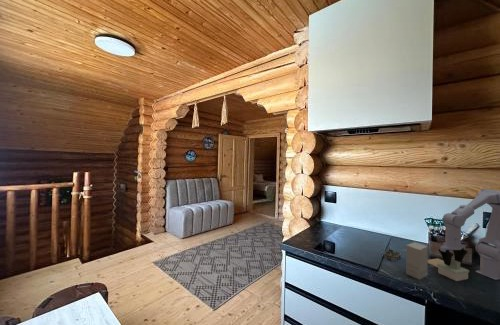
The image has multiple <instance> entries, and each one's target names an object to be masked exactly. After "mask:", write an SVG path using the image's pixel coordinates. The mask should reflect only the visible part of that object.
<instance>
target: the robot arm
mask: <svg viewBox="0 0 500 325" xmlns="http://www.w3.org/2000/svg"><path fill="white" fill-rule="evenodd" d="M484 205H489V206H490V207H491V209H492V210H491V212H490V213H491V214H490V217H489V220H488V226H487V228H486V234H485V237H482V238H479V239H478V241H477V243H475V244H476V245H475V251H476V252H477V253H478V256H479V258H480V265H479V269H478V270H475V272H476V273H477V274H479V275H483V276H485V277H488V278H491V279H493V280H495V281H497V280H500V190H497V189H496V190H495V189H488V188H482V189H481V190H479V191H478V192H477V196H476V197H474V198H473V199H472V200H471V201H470V202H469V203H467V204H461V205H459V206H458V207H457V208H456V209H454V210H453V211H451V212H447V213H445V214H444V215H443V216H442V218H441V221H442V222H443V226H444V228H445V234H444V235H445V237H444V239H445V240H444V241H445V242H443V243H442V245H441V246H439V248H438V252H439V254H440V255H441V257H442V260H443V261H444V264H446V265H448V266H450V264H451V259H453V256H454V260H456V261H458V262H460V265H461V264H462V263H463V259H464V257H465V256H466V255H467V254H468V250H466V244H461V242H462V227H464V226H465V223H466V221H467V220H468V219H469V218H470V217H471V216H473V215H474V214H475V210H477V209H479V208H481V207H483V206H484ZM451 251H453V252H451Z"/></svg>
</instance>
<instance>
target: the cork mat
mask: <svg viewBox="0 0 500 325" xmlns="http://www.w3.org/2000/svg"><path fill="white" fill-rule="evenodd" d="M439 263H444V261H443V259H441V258H439V257H438V258H432V259H431V258H430V259H428V264H429V265H430V266H433V267H434V268H435V267H436V268H437V269H438V266H437V264H439Z"/></svg>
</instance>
